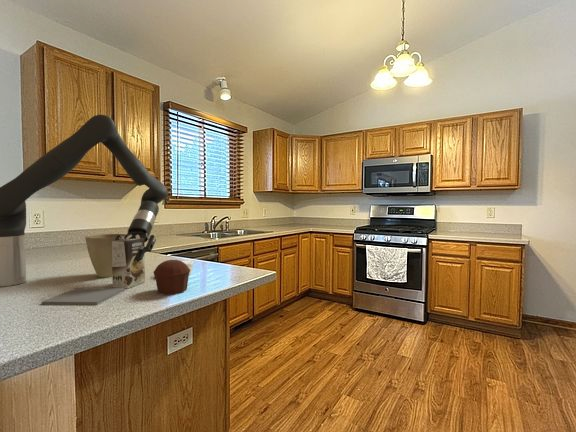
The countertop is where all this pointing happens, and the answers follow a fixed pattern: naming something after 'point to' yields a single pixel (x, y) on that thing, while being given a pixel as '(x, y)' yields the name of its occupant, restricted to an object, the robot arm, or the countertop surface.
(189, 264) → the ramekin
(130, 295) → the countertop surface
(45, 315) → the countertop surface
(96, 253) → the plant pot
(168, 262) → the muffin
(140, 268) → the coffee box
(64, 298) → the mat
